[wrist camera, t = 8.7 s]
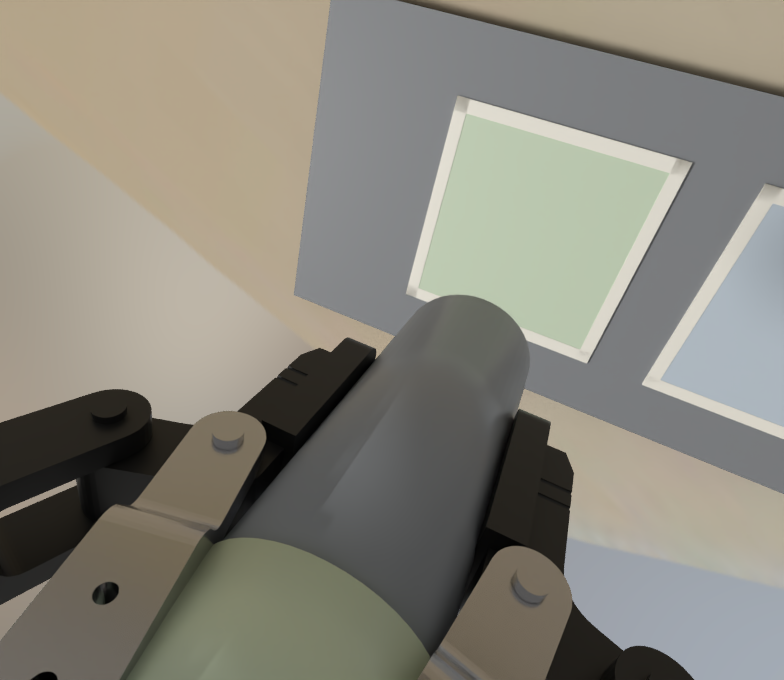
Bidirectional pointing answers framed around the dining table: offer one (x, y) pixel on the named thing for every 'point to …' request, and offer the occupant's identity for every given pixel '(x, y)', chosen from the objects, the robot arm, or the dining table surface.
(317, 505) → the marker
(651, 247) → the picture board
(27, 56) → the dining table surface
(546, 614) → the robot arm
